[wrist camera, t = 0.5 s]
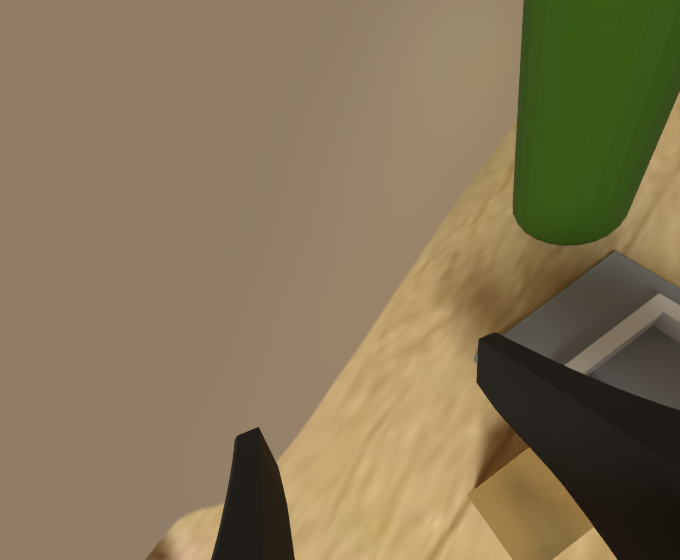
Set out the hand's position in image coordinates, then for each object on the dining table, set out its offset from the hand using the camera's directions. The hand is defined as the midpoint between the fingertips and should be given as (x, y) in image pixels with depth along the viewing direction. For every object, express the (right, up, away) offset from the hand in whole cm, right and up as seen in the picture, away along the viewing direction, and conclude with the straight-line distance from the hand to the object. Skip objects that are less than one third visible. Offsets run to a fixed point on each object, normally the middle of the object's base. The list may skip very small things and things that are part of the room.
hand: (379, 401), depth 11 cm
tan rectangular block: (+11, -11, +11) cm, 19 cm away
